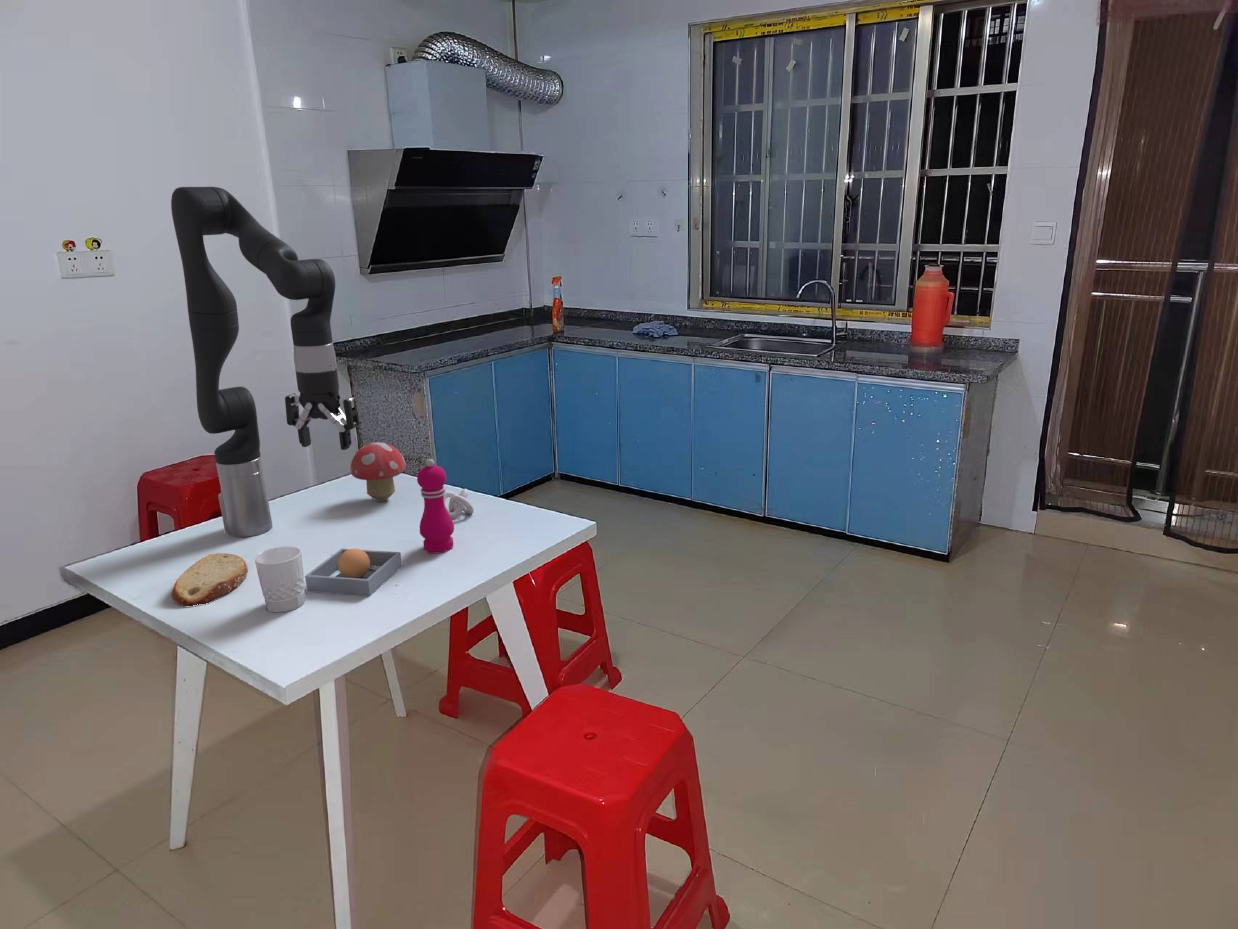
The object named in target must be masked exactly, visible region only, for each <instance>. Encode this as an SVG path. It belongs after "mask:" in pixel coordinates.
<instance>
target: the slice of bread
mask: <svg viewBox="0 0 1238 929" xmlns="http://www.w3.org/2000/svg"><path fill="white" fill-rule="evenodd" d="M248 570H249V568H248V566H247V564H246V561H245V560H244V558H243V557H240V556H239V555H237V554H234V553H233V554H232V553H223V552H221V553H220V552H217V553H210V554H207V555H206V556H204V557H202V558H201V559H199V560H198V561H196V562H195V563H194V564H192V565H191V566H189V567H188V568H187V569H186V571H184V572H183V573H182V574H181V575H179V577H178V578H177V579H176V580H175V583H174V585H173V588H172V591H171V599H172V600H173V602H175V603H176V604H177V605H179V604H180V605H179V606H181V605H183V607H184V606H193V605H197V604H198V605H199V604H205V605H207V604H206V603H208V604H210V603H209V602H211V601H212V602H214V601H216V600H217V598H218V599H220V598H223V597H225V596H227V595H228V594H229V595H230V594H231V593H232V592H234V591H235V590H237V589H238V587H240V586H241V585H242V583H244V582H245V580H246V579H247V575H248V574H247V573H248V572H249V571H248ZM215 599H216V600H215ZM212 602H211V603H212Z"/></svg>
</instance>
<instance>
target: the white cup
mask: <svg viewBox="0 0 1238 929" xmlns="http://www.w3.org/2000/svg"><path fill="white" fill-rule="evenodd" d="M253 560H254V564H255V568H256V572H257V575H258V576H257V577H258V581H259V585H260V588H261V593H262V596H263V598H264V599H263V600H264V602H265V606H266V608H267V610H268V611H270V612H273V613H285V612H290V611H293V610H296V609H298V608H300V607H302V606H303V605H304V604H305V602H306V591H305V580H304V578H305V575H304V566H303V557H302V550H301V549H300V548H298V547H296V546H288V545H287V546H278V547H273V548H269V549H264V550H263V551H261V552H259V553H257V555H255V557H254V559H253Z"/></svg>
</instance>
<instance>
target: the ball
mask: <svg viewBox="0 0 1238 929" xmlns="http://www.w3.org/2000/svg"><path fill="white" fill-rule="evenodd" d="M348 549H349V550H347V551H345V552H344V553H343V554H342V555H341V556H340V558H339V561H338V568H339V569H338V571H339V574H340V573H341V574H342V575H343V576H344V577H346V578H361V577H362V576H364V575H365V574H366V573H367V572H368V570H369V568H371V566H370V560H369V557H368V555H367V554H366V553H365V552H364V551H362V550H363V549H359V548H348Z"/></svg>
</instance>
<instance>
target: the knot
mask: <svg viewBox="0 0 1238 929" xmlns="http://www.w3.org/2000/svg"><path fill="white" fill-rule="evenodd" d="M468 495H469V490H468V489H467V488H463V489H462V490H461V492H460V493H459V494H457V493H456V492H454V491H451V490H445V495H444V504H445V507H446V510H447V512H448V513H449V515H450V517H451V518H452V520H453V519H456V518H458V517H459V516H460V515H461V514H462V512H463V513H465V514H467V515H472V514H473V513H474V507H473V505H472V503H471V502H470V501H469V500H468V499H467V498H468ZM447 498H449V502H448V508H447V506H446V505H447V504H446V500H447Z"/></svg>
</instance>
